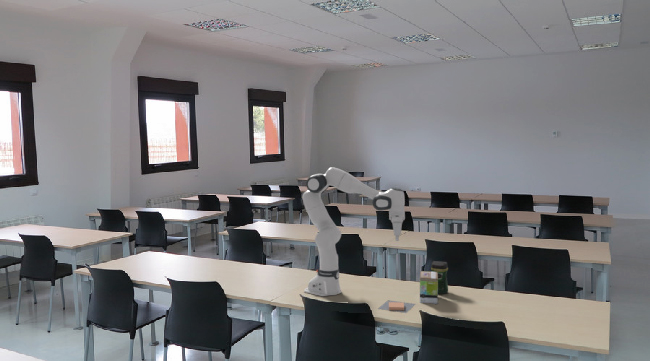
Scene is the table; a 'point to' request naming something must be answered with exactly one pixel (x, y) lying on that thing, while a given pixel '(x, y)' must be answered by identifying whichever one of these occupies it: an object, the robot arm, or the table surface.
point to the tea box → (428, 287)
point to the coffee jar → (441, 275)
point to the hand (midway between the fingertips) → (397, 240)
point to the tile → (396, 306)
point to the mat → (406, 308)
